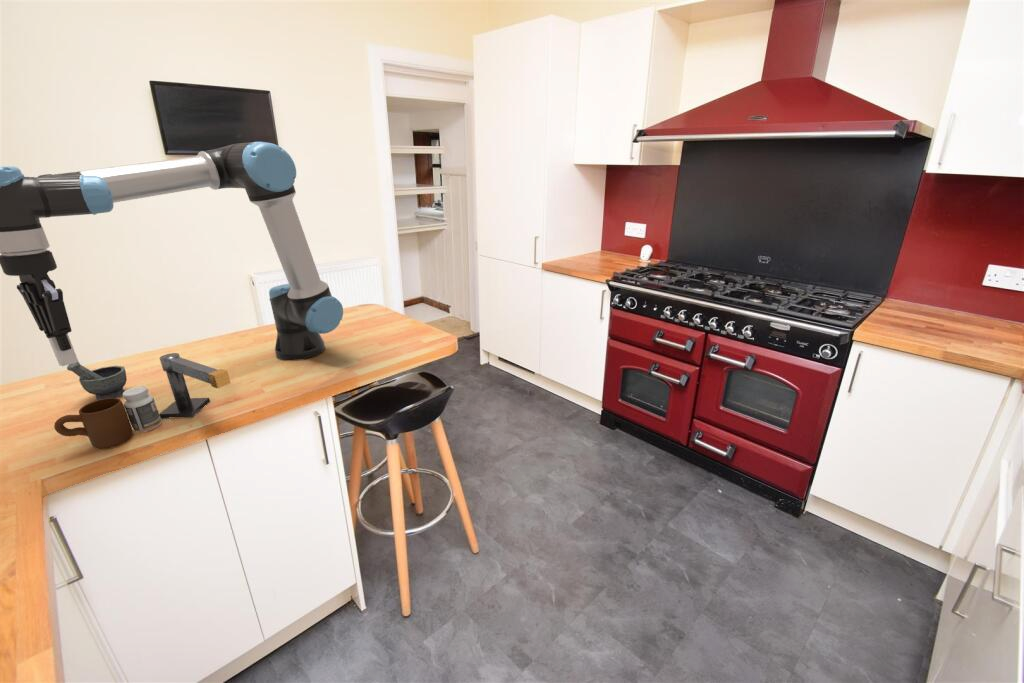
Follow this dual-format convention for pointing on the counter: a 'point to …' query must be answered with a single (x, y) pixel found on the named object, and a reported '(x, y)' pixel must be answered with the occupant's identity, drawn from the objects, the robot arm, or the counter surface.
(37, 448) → the counter surface
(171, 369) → the bar
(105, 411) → the mug
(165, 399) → the counter surface
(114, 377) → the mortar and pestle
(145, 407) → the pill bottle
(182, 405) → the post
